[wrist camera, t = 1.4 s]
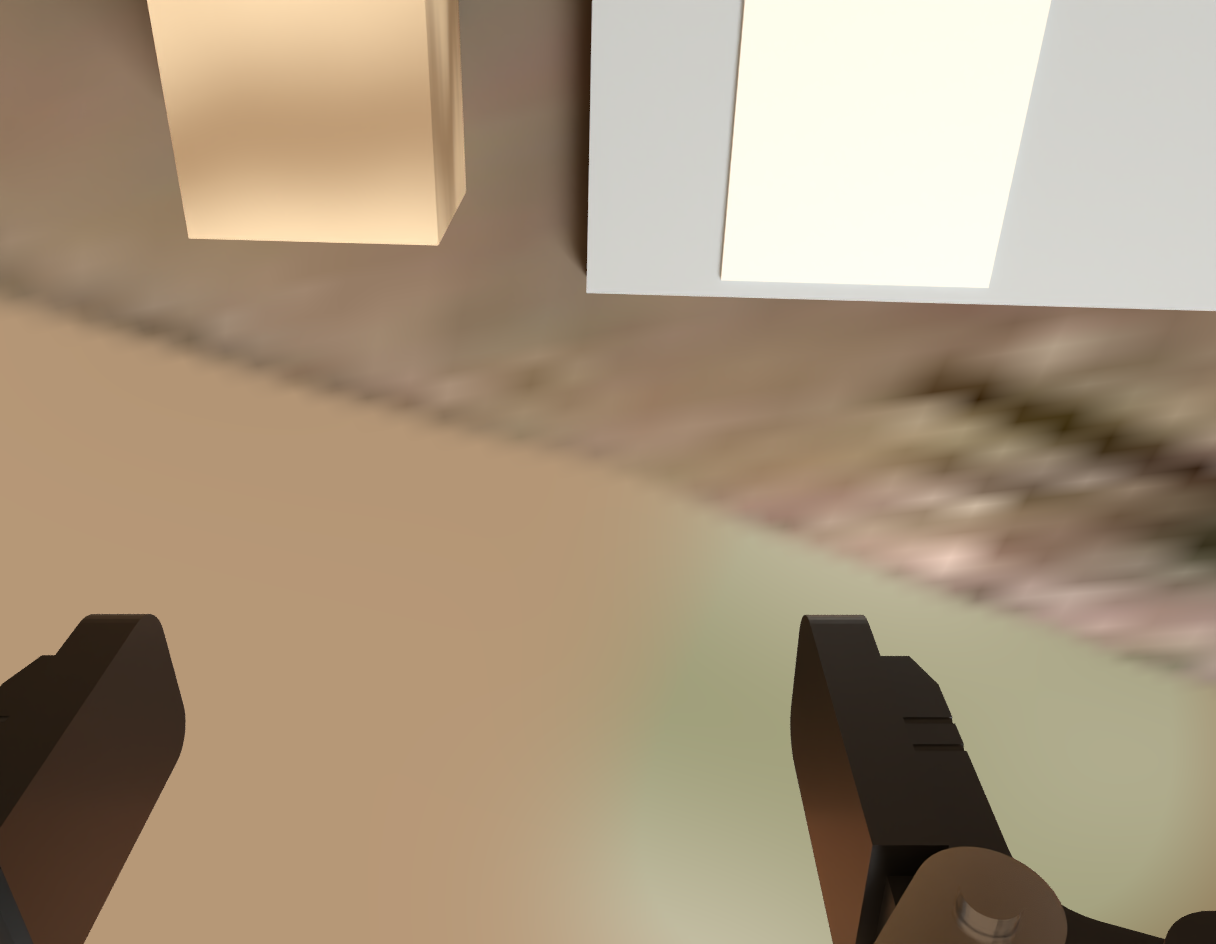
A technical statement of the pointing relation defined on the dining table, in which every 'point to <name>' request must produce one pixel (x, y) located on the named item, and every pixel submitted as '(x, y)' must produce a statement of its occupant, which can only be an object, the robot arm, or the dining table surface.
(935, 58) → the build board
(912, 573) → the dining table surface
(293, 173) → the beech block
